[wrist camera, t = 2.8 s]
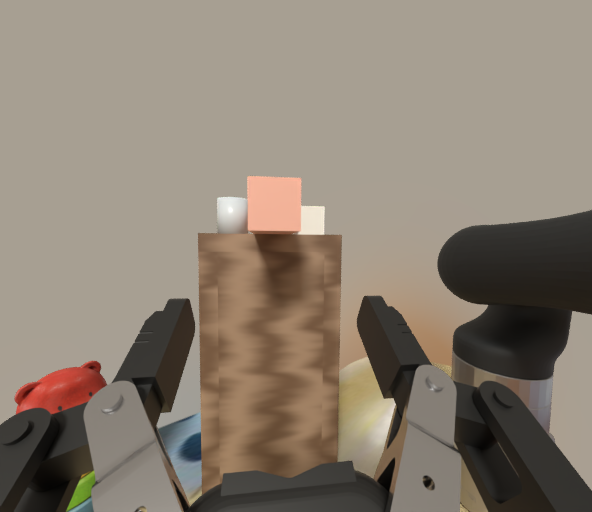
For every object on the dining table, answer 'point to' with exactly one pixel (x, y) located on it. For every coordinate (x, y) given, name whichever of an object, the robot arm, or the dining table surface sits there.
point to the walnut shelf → (268, 352)
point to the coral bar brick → (274, 205)
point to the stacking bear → (60, 396)
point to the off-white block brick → (312, 220)
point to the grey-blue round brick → (232, 215)
